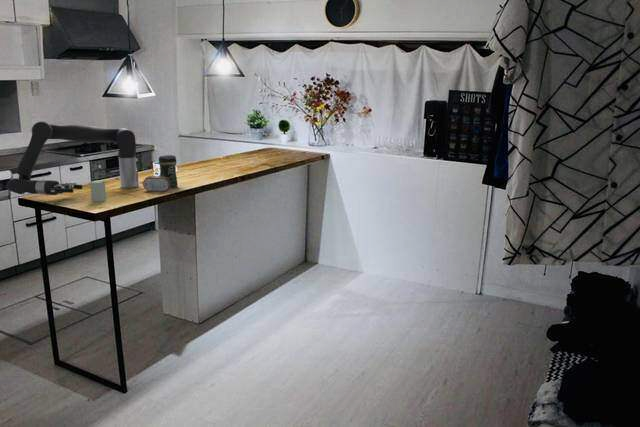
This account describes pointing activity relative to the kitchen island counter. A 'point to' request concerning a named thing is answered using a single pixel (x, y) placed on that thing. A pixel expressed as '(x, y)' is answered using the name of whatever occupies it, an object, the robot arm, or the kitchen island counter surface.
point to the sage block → (98, 191)
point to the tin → (157, 183)
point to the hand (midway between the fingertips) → (77, 188)
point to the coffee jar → (168, 168)
